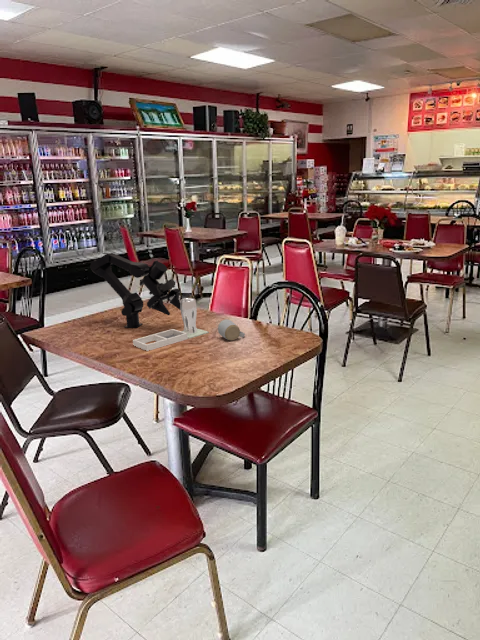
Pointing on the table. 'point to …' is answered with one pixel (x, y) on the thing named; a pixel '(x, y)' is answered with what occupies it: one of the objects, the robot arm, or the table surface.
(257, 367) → the table surface
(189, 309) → the shiny metal tumbler
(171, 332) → the white divided tray
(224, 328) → the ceramic mug
